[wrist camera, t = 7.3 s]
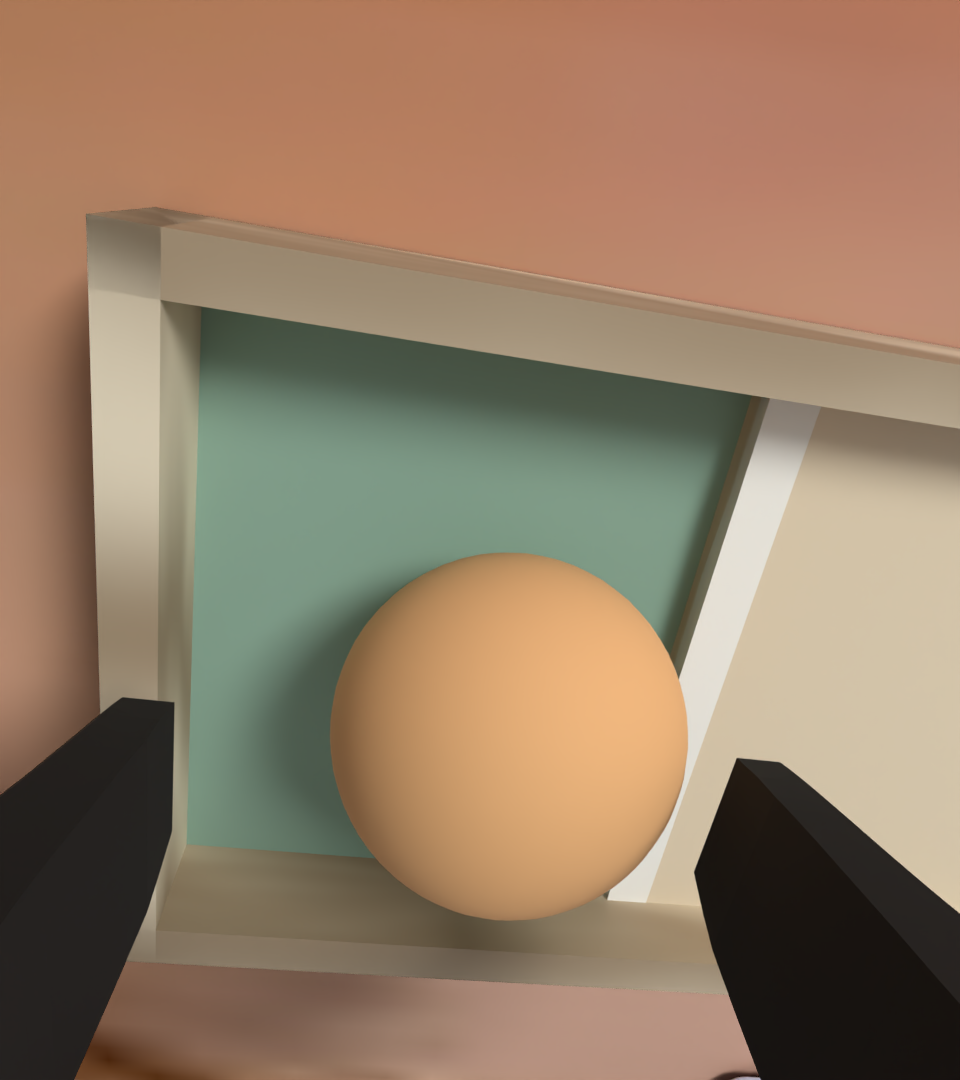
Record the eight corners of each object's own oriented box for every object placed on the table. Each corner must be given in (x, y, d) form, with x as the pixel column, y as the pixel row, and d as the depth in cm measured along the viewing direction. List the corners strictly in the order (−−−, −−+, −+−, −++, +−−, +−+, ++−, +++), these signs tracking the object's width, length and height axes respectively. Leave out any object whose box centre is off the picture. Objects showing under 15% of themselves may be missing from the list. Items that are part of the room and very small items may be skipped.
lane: (924, 904, 18) (957, 952, 17) (152, 848, 16) (132, 898, 15) (1207, 392, 13) (1278, 411, 12) (155, 206, 11) (126, 210, 10)
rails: (924, 904, 18) (997, 1009, 16) (152, 848, 16) (107, 960, 13) (1207, 392, 13) (1371, 436, 11) (155, 206, 11) (86, 213, 9)
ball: (544, 736, 15) (704, 955, 11) (285, 772, 13) (367, 1060, 9) (602, 498, 13) (822, 660, 9) (309, 497, 11) (428, 706, 7)
